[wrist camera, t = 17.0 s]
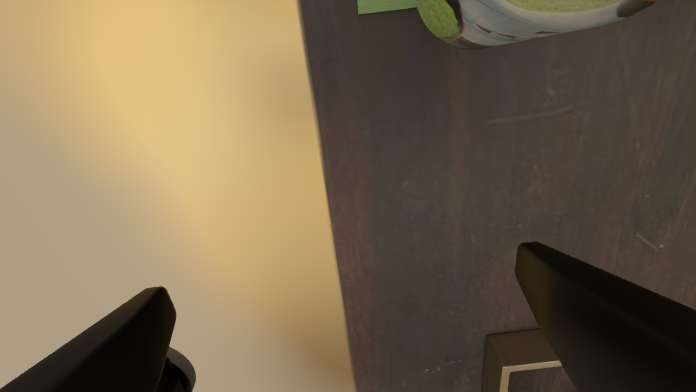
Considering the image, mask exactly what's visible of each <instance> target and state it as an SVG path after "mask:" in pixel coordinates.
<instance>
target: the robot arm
mask: <svg viewBox="0 0 696 392" xmlns="http://www.w3.org/2000/svg"><path fill="white" fill-rule="evenodd" d="M515 274H516V278H517V280H518V282H519V285H520V287H521V289H522V291H523V293H524V295H525V297H526V299H527V302H528V304H529V306H530V308H531V310H532V312H533V314H534V317H535V319H536V321H537V323H538V325H539V327H540V329H541V331H542V333H543V335H544V336H545V338H546V340H547V341H548V343H549V345H550V346H551V348H552V350H553V351H554V353H555V355H556V356H557V358H558V360H559V361H560V363H561V364H562V366H563V368H564V369H565V371H566V373H567V374H568V376H569V378H570V379H571V381H572V383H573V384H574V386H575V387H576V389H577V391H578V392H696V310H694V309H692V308H689V307H687V306H685V305H682V304H680V303H678V302H675V301H673V300H671V299H669V298H666V297H664V296H662V295H659V294H657V293H655V292H652V291H650V290H648V289H645V288H643V287H641V286H638V285H636V284H634V283H632V282H629V281H627V280H625V279H622V278H620V277H618V276H615V275H613V274H611V273H608V272H606V271H604V270H601V269H599V268H597V267H595V266H592V265H590V264H588V263H585V262H583V261H581V260H578V259H576V258H574V257H571V256H569V255H567V254H564V253H562V252H560V251H558V250H555V249H553V248H551V247H548V246H546V245H544V244H541V243H539V242H527V243H521V244H520V245H519V246H518V250H517V258H516V266H515ZM175 321H176V310H175V308H174V305H173V303H172V301H171V299H170V296H169V294H168V292H167V290H166V288H164V287H162V286H161V287H152V288H147V289H145V290H143V291H142V292H140V293H139V294H137V295H136V296H134V297H133V298H132V299H130V300H129V301H127V302H126V303H124V304H123V305H121V306H120V307H119V308H117V309H116V310H114V311H113V312H111V313H110V314H108V315H107V316H105V317H104V318H102V319H101V320H100V321H98V322H97V323H95V324H94V325H92V326H91V327H89V328H88V329H87V330H85V331H84V332H82V333H81V334H79V335H78V336H76V337H75V338H73V339H72V340H71V341H69V342H68V343H66V344H65V345H63V346H62V347H60V348H59V349H57V350H56V351H55V352H53V353H52V354H50V355H49V356H47V357H46V358H44V359H43V360H41V361H40V362H39V363H37V364H36V365H34V366H33V367H31V368H30V369H28V370H27V371H25V372H24V373H23V374H21V375H20V376H19V377H17V378H15V379H14V380H12V381H11V382H10V383H8V384H7V385H5V386H4V387H2V388H1V389H0V392H185V390H184V388H183V385H182V383H181V381H180V379H179V377H178V375H177V373H176V371H175V369H174V367H173V365H172V363H171V361H170V359H169V358H168V357H167V352H168V348H169V344H170V340H171V337H172V333H173V329H174V325H175Z"/></svg>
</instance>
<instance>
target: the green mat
mask: <svg viewBox="0 0 696 392" xmlns="http://www.w3.org/2000/svg"><path fill="white" fill-rule="evenodd" d="M357 2H358V14H367V13H375V12H383V11H391V10H399V9H407V8H415V7H417V5H416V1H415V0H357Z"/></svg>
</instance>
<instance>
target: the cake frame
mask: <svg viewBox="0 0 696 392" xmlns="http://www.w3.org/2000/svg"><path fill="white" fill-rule="evenodd" d="M556 366H562V364H561V363H560V361H559V360H558V358H557V356H556V355H555V353H554V351H553V350H552V348H551V346H550V345H549V343H548V341H547V340H546V338H545V336H544V335H543V333H542V331H541V329H537V330H529V331H520V332H512V333H504V334H495V335H488V336H487V338H486V350H485V361H484V373H483V385H482V392H507V389H508V382H509V374H510V372H514V371H523V370H531V369H539V368H548V367H556Z"/></svg>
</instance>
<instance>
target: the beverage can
mask: <svg viewBox="0 0 696 392" xmlns="http://www.w3.org/2000/svg"><path fill="white" fill-rule="evenodd" d="M415 1H416V5H417V9H418V11H419V13H420V16H421V18H422V20H423V21H424V23H425V24H426V26H427V27H428V29H429V30H430V31H431V32H432V33H433V34H434V35H435V36H436V37H438V38H439V39H440V40H442V41H443V42H445V43H447V44H449V45H452V46H454V47H458V48H462V49H481V48H488V47H493V46H498V45H503V44H509V43H514V42H519V41H525V40H530V39H535V38H541V37H546V36H551V35H556V34H562V33H567V32H572V31H578V30H583V29H588V28H593V27H599V26H603V25H606V24H609V23H612V22H615V21H618V20H621V19H624V18H627V17H629V16H631V15H633V14H635V13H637V12H639V11H641V10H643V9H645V8H647V7H648V6H650V5H652V4H654V3H655V2H657V1H658V0H415Z"/></svg>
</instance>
